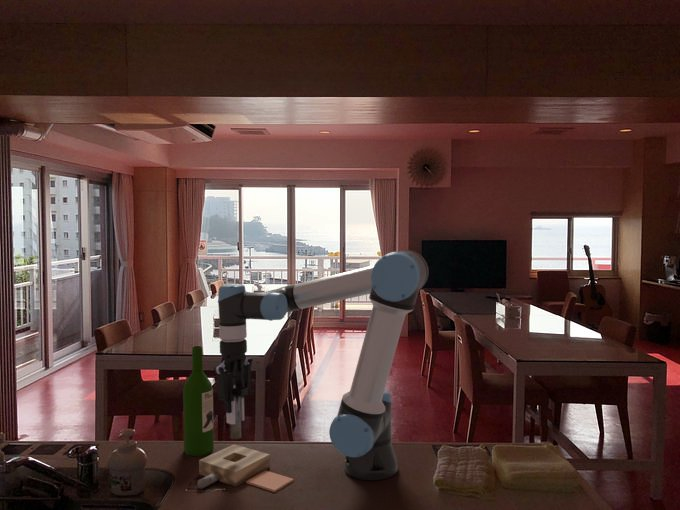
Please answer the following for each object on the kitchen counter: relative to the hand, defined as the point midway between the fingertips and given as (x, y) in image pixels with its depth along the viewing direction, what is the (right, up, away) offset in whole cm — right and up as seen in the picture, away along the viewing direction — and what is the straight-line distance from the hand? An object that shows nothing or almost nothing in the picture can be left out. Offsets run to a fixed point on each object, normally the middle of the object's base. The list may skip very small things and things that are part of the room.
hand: (235, 421), depth 162 cm
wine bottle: (-14, -14, +16) cm, 26 cm away
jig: (-2, -15, -2) cm, 15 cm away
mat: (+10, -15, -6) cm, 19 cm away
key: (0, -5, 0) cm, 5 cm away
